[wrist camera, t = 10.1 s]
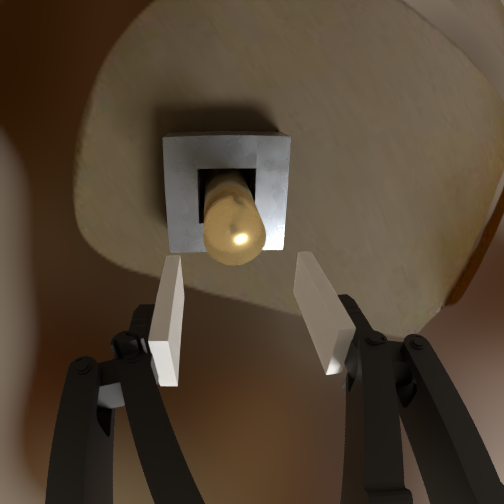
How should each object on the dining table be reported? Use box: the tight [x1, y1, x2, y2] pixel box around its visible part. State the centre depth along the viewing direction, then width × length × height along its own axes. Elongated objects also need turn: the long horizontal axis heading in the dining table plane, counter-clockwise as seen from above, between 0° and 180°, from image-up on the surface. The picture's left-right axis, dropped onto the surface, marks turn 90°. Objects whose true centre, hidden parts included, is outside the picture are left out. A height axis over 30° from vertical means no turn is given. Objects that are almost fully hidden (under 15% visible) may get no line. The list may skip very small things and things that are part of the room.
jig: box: [163, 131, 291, 253], centre depth 32 cm, size 12×12×4 cm
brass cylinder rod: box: [203, 168, 266, 265], centre depth 28 cm, size 4×4×14 cm
